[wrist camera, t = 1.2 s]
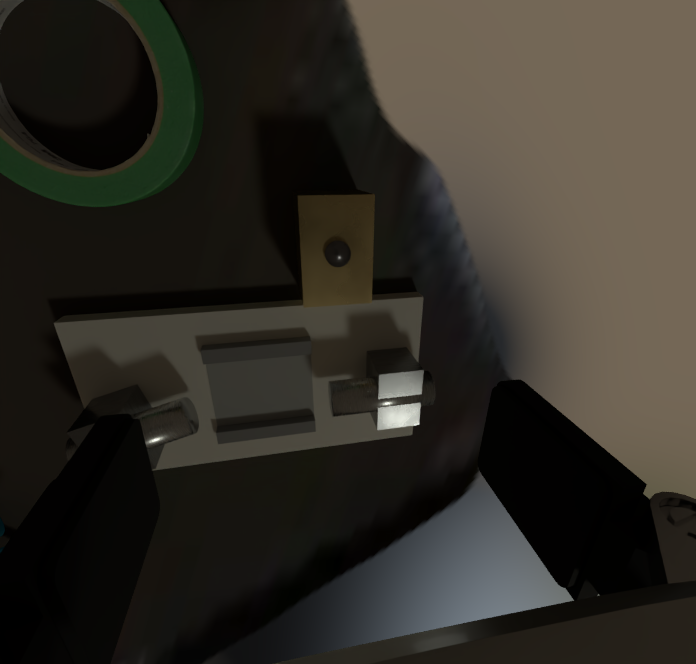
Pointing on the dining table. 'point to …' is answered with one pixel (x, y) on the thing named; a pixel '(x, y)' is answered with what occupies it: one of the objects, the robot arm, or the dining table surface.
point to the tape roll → (161, 145)
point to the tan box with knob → (334, 246)
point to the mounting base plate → (243, 368)
